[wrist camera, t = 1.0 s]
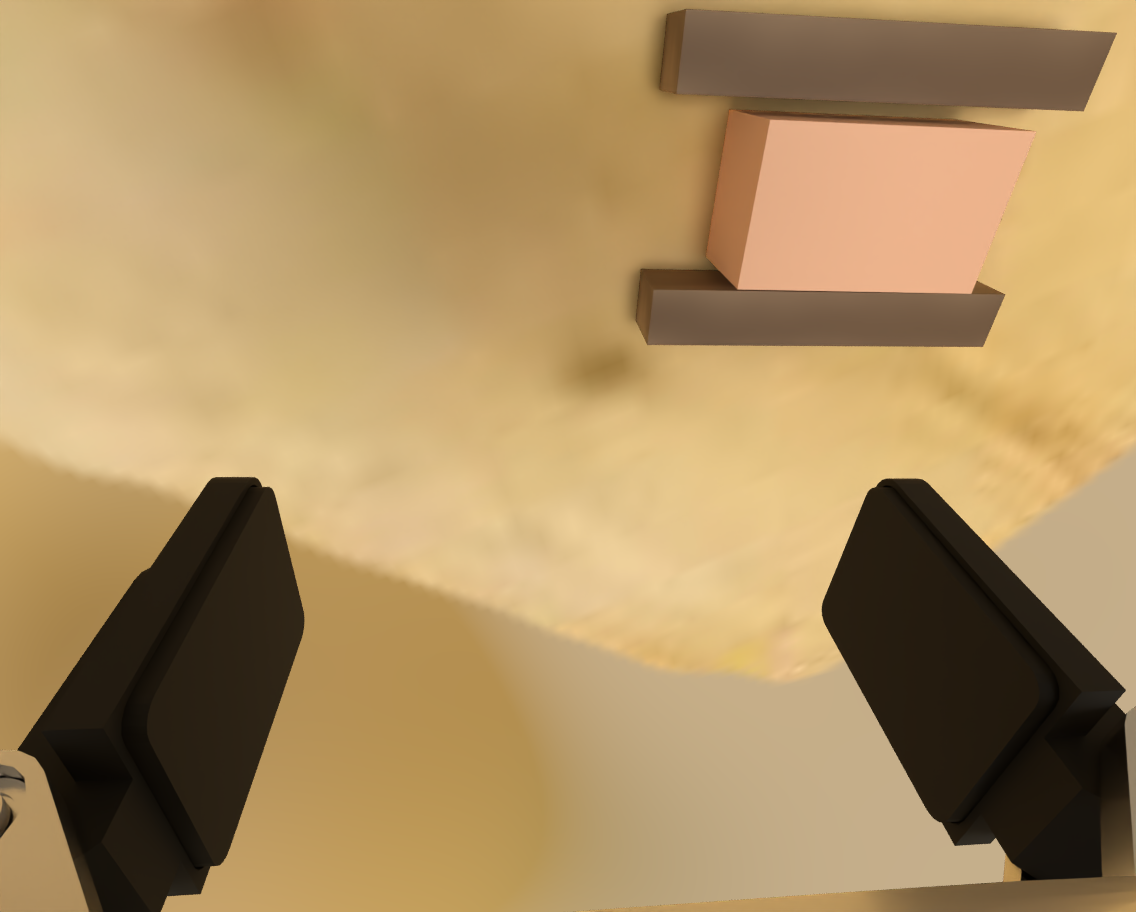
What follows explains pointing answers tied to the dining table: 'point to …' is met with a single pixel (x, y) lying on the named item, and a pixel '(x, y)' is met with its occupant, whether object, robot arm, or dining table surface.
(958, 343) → the chute
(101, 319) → the dining table surface
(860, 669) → the robot arm
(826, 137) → the block
